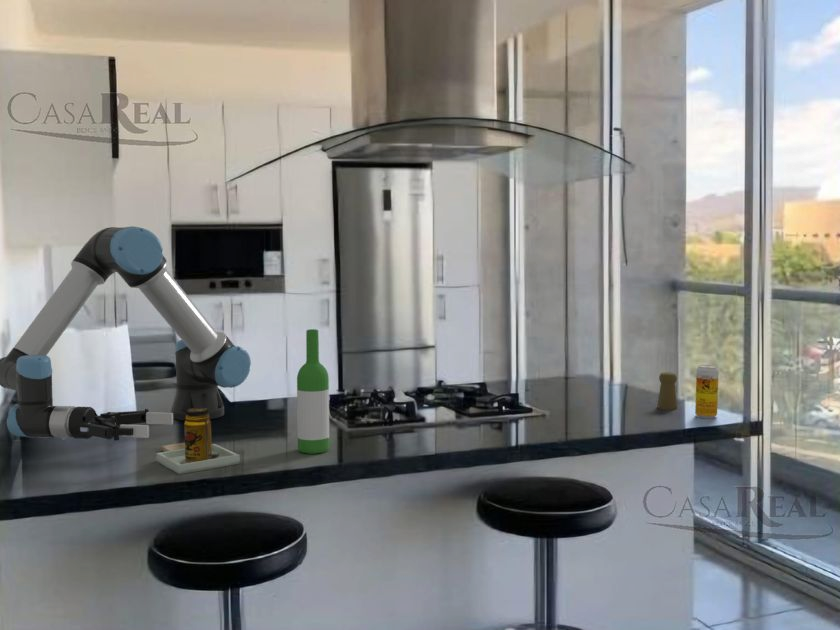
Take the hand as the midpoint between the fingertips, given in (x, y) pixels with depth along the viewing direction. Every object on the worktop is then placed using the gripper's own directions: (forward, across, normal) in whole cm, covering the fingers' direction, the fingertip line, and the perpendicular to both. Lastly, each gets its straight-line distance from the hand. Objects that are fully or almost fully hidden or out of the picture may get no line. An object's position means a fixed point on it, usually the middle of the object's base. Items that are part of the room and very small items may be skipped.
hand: (160, 424), depth 198 cm
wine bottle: (+33, -14, -9) cm, 37 cm away
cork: (+129, -79, -9) cm, 151 cm away
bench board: (+2, -10, -9) cm, 14 cm away
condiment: (+9, -1, -8) cm, 12 cm away
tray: (+9, 0, -9) cm, 12 cm away
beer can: (+138, -66, -9) cm, 154 cm away
